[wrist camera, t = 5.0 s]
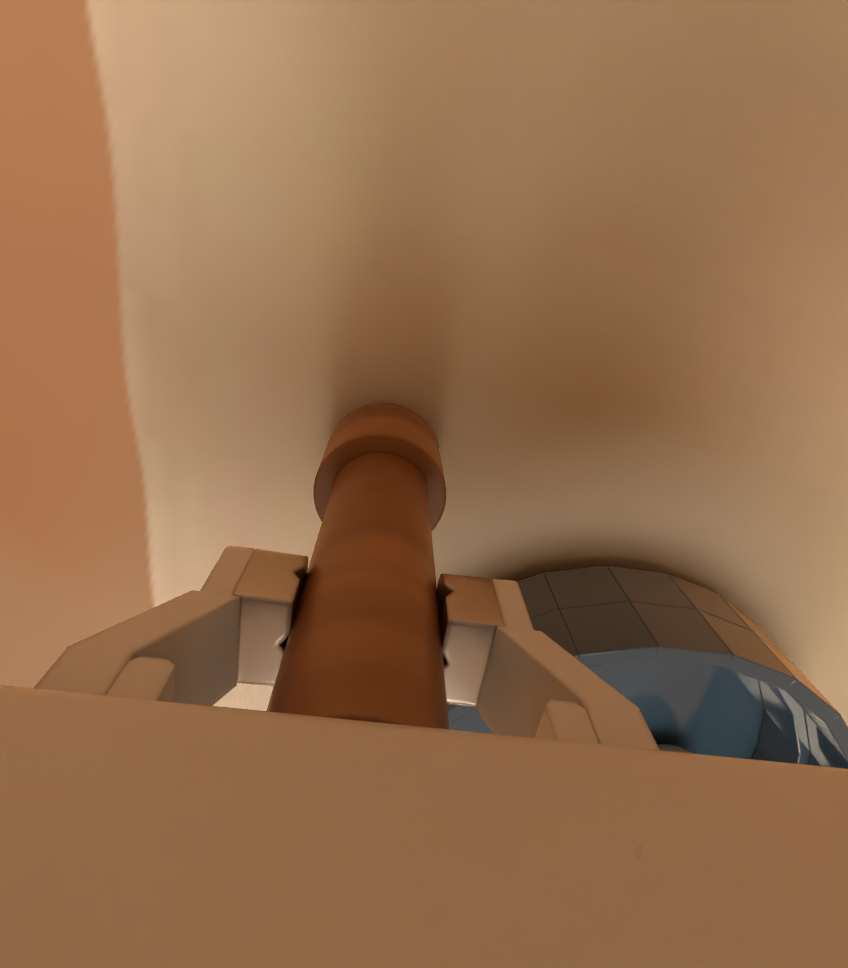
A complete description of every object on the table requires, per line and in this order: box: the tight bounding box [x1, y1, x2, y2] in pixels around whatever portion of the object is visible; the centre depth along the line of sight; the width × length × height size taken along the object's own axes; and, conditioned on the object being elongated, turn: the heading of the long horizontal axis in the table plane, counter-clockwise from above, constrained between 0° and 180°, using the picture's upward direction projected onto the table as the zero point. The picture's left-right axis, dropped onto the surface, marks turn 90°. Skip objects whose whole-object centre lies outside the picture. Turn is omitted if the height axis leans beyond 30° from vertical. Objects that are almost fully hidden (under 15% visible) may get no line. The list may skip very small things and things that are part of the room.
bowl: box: [447, 566, 848, 769], centre depth 21 cm, size 17×17×5 cm
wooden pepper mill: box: [267, 404, 449, 729], centre depth 13 cm, size 4×4×12 cm
